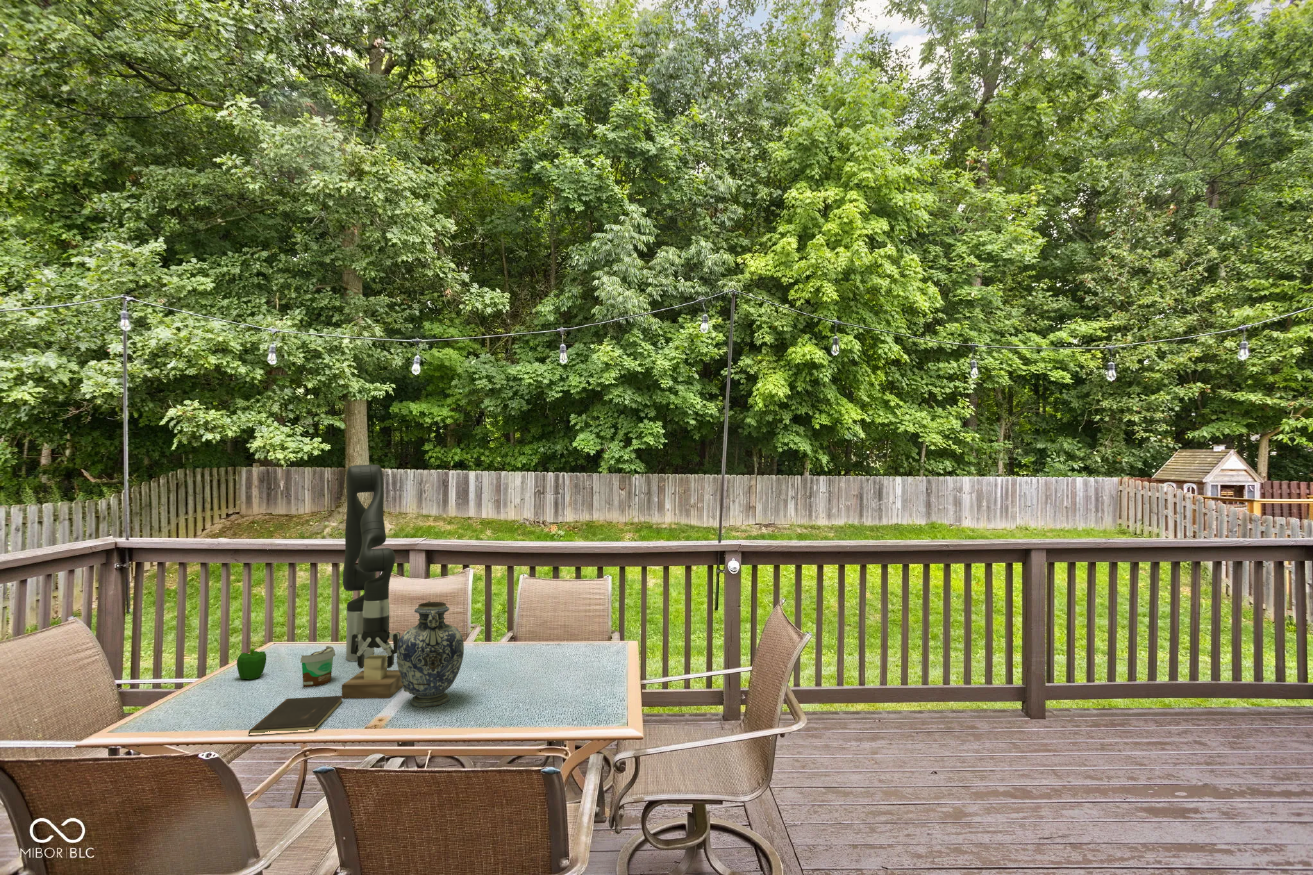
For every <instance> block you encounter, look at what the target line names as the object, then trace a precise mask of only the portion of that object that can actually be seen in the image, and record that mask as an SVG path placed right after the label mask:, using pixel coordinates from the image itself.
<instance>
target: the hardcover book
mask: <svg viewBox="0 0 1313 875" xmlns="http://www.w3.org/2000/svg"><path fill="white" fill-rule="evenodd" d="M343 697H344V696H342V695H329V696H310V697H296V698H295V697H292V698H286V699H284V700H283V701H282V702H281V703H279V705H278V706H276V707H275V708H274V709H273V710H271V711H270V712H269V713H268V714H267V715H266V716H264V717H263V718H262V719H261V720H260V721H259V722H257V723H256V724H255V725H254V726H252V727H251V729H249V730H248V735H249V734H250V733H265V732H268V731H269V732H270V731H298V730H309V729H316V728H317V729H318V728H319V727H320V726H321V725H322V724H323V723H324V722H325V721H326V720H327V719H328V717H330V715H331V714H332V713H334V711H335V710H336V709H337V707H339V706H340V704H342V703H343V699H342V698H343ZM324 720H325V721H324ZM323 721H324V722H323ZM322 722H323V723H322ZM321 723H322V724H321ZM320 724H321V725H320ZM319 725H320V726H319ZM318 726H319V727H318ZM317 729H316V730H317Z"/></svg>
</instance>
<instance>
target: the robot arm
mask: <svg viewBox="0 0 1313 875" xmlns="http://www.w3.org/2000/svg"><path fill="white" fill-rule="evenodd" d="M345 481H346V482H345V483H346V484H345V486H346V515H345V516H346V517H345V530H344V531H345V533H344V534H345V536H344V538H345V541H344V543H345V545H344V547H345V548H344V549H345V550H344V562H343V571H342V587H343V589H344V590H345V591H347V592H358V591H363V594H362V595H360V596H359V597H356V598H354V599H351V600H350V601H348V602H347V604H346V634H345V635H346V636H345V637H346V638H345V639H346V640H345V641H346V643H345V644H346V645H345V653H346V654H345V657H346V658H345V660H347V661H349V662H357V667H358V668H359V669H364V659H366V658H367V657H369V656H370V655H375V649H380V648H381V649H382V650H383V651H384V652H386V655H387V669H391V668H392V666H394V664H395V655H397V646H398V642H399V640H400V638H401V633H400V632H399V631H397V632H395V633H394V632H393V633H391V632H390V599H389V598H390V597H389V596H390V595H389V594H390V581H391V576H392V572H393V569H394V566H395V563H396V554H395V551H394V550H393V549H392V548H390V547H383V548H382V547H381V548H380V546H382V545H383V544H385V543H386V542H387V534H386V527H385V517H384V503H385V501H384V497H385V496H384V491H385V490H384V473H383V469H382V467H381V466H380V465H378V464H355V465H350V466H349V467H348V468H347V471H346V479H345ZM361 493H373V497H372V498H371V499H372V500H371V501H370V503H369V504H368V506H367V508H366V507H365V506H364V504H363V503H362V501H361V500H360V498H359V496H358V494H361ZM378 547H379V548H378ZM356 563H357V564H356ZM377 572H381V573H380V575H379V576H377ZM389 639H391V641H392V642H393V643H392V644H393V646H392V644H391V643H390V641H389Z"/></svg>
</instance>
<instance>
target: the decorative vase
mask: <svg viewBox="0 0 1313 875" xmlns="http://www.w3.org/2000/svg"><path fill="white" fill-rule="evenodd" d="M448 611H450V607H449V606H448V605H447V603H446V602H442V601H431V600H427V602H423V603H419V604H418V606H417V607H415V609H414V613H416V614H418V616H419V617H418V620H417V621H418V623H417V625H415V626H411V628H408V629H407V630H406V631H405V632H404V633H403V634H402V635H400V640H399V642H398V646H397V653H396V663H397V670H399V672H400V675H401V677H402V679H401V683H403V687H402V688H403V692H405V693H409V695H413V696H412V698H411V700H410V704H411V705H412V706H414V707H416V706H417V707H418V708H432V707H438V706H441V705H443V704H446V703H447V702H449V701H450V695H449V694H448V693H446V691H447V690H449V689H450V688H451V686H452V685H453V684H454V682H455V681H456V680H457V677H458V674H460V673H459V672H460V670H461V666H462V664H463V660H464V653H465V652H464V651H465V647H464V646H465V643H464V639H463V635H462V633H461V631H460V630H459V628H457V627H456V626H454V625H451V624H448V623H446V622H445V619H446V618H445V614H446V612H448Z"/></svg>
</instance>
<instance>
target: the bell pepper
mask: <svg viewBox="0 0 1313 875" xmlns="http://www.w3.org/2000/svg"><path fill="white" fill-rule="evenodd" d="M266 664H267V653H266V651H265V650H263V651H257V650H256V649H255V648H254V647H251V648H250V651H249V653H248V652H241V653H240V654H239V655H238V656H237V659H236V669H237V672H238V675H239V678H240V679H241V680H249V681H250V680H255V679H258V678H261V676H262V675H263V673H264V670H265V667H266Z"/></svg>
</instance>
